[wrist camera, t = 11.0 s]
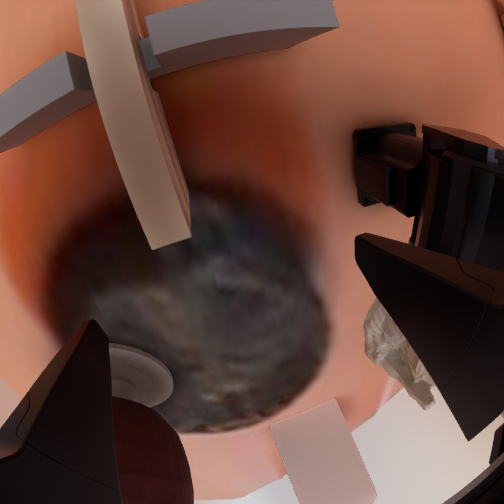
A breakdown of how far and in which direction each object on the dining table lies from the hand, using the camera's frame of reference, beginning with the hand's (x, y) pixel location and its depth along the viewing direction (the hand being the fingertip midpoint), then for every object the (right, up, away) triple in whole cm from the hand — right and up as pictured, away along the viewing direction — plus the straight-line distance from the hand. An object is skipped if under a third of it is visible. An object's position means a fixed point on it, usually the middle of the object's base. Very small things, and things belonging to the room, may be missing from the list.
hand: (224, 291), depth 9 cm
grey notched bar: (-6, +13, +5) cm, 15 cm away
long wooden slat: (-6, +12, +5) cm, 15 cm away
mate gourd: (-13, -12, +18) cm, 26 cm away
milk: (+11, -29, +34) cm, 46 cm away
